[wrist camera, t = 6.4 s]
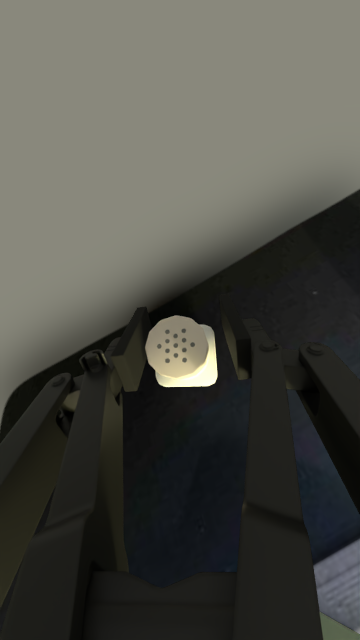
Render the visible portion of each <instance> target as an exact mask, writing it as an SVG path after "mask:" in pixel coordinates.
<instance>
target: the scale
mask: <svg viewBox="0 0 360 640" xmlns="http://www.w3.org/2000/svg"><path fill="white" fill-rule="evenodd" d="M320 619H321V626H322V633H323V640H360V634H358V633H356V632H354V631H353V630H351V629H349V628H347V627H346V626H344V625H342V624H340V623H339V622H337V621H335V620H333V619H331V618H330V617H328V616H326V615H324V614H323V613H321V612H320Z"/></svg>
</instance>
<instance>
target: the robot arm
mask: <svg viewBox="0 0 360 640" xmlns="http://www.w3.org/2000/svg"><path fill="white" fill-rule="evenodd" d="M219 302H220V311H221V321H222V327H223V330H224V333H225V337H226V340H227V343H228V346H229V350H230V353H231V356H232V360H233V363H234V366H235V369H236V373H237V376H238V379H239V380H241V379H250V378H252V380H251V396H250V411H249V427H248V442H247V458H246V473H245V489H244V501H243V506H242V513H241V524H240V538H239V552H238V567H237V572H200V573H197V574H195V575H193V576H190V577H188V578H186V579H183V580H181V581H179V582H176V583H174V584H172V585H169V586H167V587H164V588H159V587H156V586H154V585H152V584H150V583H148V582H146V581H144V580H142V579H140V578H138V577H136V576H134V575H132V574H130V573H129V569H128V560H127V555H126V551H125V546H124V537H123V417H122V394H121V392H120V390H121V387H122V385H123V388H124V390H125V392H128V391H137V389H138V386H139V382H140V379H141V376H142V372H143V369H144V366H145V362H146V359H147V354H146V349H145V346H146V342H147V339H148V335H149V332H150V331H151V330H152V325H151V322H150V319H149V315H148V312H147V308H146V307H140V308H137V310H136V311H135V313H134V315H133V317H132V319H131V320H130V322H129V324H128V326H127V327H126V329H125V331H124V333H123V335H122V336H121V337H120V338H116V339H114V340H113V341H112V342H111V343H110V345H109V347H108V348H107V350H106V352H105V353H103V351H101V350H93V351H90V352H88V353H86V354H84V355H83V356H82V357H81V358H80V360H79V362H80V363H81V365H82V367H83V369H84V371H85V373H84V375H81V376H78V377H75V378H72V376H71V374H69V373H63V374H59V375H57V376H55V377H54V378H52V379H51V380H50V381H49V382H48V383H47V384H46V385H45V387H44V388H43V389H42V390H41V392H40V393H39V394H38V396H37V397H36V398H35V400H34V401H33V402H32V403H31V405H30V406H29V407H28V409H27V410H26V411H25V412H24V414H23V415H22V416H21V418H20V419H19V420H18V422H17V423H16V424H15V425H14V427H13V428H12V429H11V431H10V432H9V433H8V434H7V436H6V437H5V438H4V440H3V441H2V442H1V444H0V608H1V606H2V604H3V601H4V599H5V597H6V595H7V592H8V590H9V588H10V586H11V584H12V581H13V579H14V577H15V575H16V572H17V570H18V568H19V566H20V563H21V561H22V563H21V566H20V570H19V573H18V576H17V580H16V583H15V587H14V590H13V593H12V597H11V600H10V603H9V607H8V610H7V613H6V617H5V620H4V623H3V627H2V630H1V633H0V640H323V633H322V626H321V619H320V612H319V604H318V597H317V590H316V582H315V575H314V568H313V561H312V553H311V547H310V541H309V536H308V532H307V529H306V527H305V525H304V521H303V515H302V507H301V499H300V491H299V483H298V475H297V467H296V459H295V451H294V443H293V435H292V427H291V420H290V412H289V404H288V396H287V389H293V390H296V392H297V394H298V396H299V397H300V399H301V401H302V403H303V405H304V407H305V409H306V411H307V413H308V415H309V417H310V419H311V421H312V423H313V425H314V427H315V429H316V430H317V432H318V434H319V436H320V438H321V440H322V442H323V444H324V446H325V448H326V450H327V452H328V454H329V456H330V458H331V460H332V462H333V464H334V465H335V467H336V469H337V471H338V473H339V475H340V477H341V479H342V481H343V483H344V485H345V487H346V489H347V491H348V493H349V495H350V497H351V498H352V500H353V502H354V504H355V506H356V508H357V510H358V512H359V514H360V380H359V379H358V378H357V376H356V375H355V374H354V373H353V372H352V371H351V370H350V369H349V368H348V367H347V366H346V365H345V364H344V362H343V361H342V360H341V359H340V358H339V357H338V356H337V355H336V354H335V353H334V352H333V351H332V350H331V349H330V348H329V347H328V346H326V345H323V344H320V343H315V342H308V343H304V344H302V345H301V346H300V348H299V350H290V349H284V348H281V346H280V344H278V343H277V342H275V341H272V340H271V339H270V338H269V336H268V335H267V333H266V332H265V330H264V329H263V327H262V326H261V324H260V323H259V321H257V320H255V319H254V318H251V319H244V320H242V319H241V317H240V315H239V313H238V312H237V310H236V308H235V306H234V304H233V302H232V300H231V298H230V296H229V294H223V295H219ZM59 409H60V411H61V412H62V414H61V416H60V417H58V416H57V412H58V411H59ZM55 485H56V487H55ZM54 487H55V491H54V495H53V499H52V502H51V506H50V510H49V514H48V518H47V521H46V524H45V526H44V528H43V529H42V530H41V531H39V532H38V533H37V534H35V535H34V536H33V534H34V532H35V530H36V527H37V525H38V523H39V521H40V518H41V516H42V514H43V512H44V509H45V507H46V505H47V503H48V500H49V498H50V496H51V494H52V492H53V489H54ZM32 536H33V537H32ZM22 559H23V560H22Z"/></svg>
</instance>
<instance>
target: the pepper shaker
mask: <svg viewBox="0 0 360 640" xmlns="http://www.w3.org/2000/svg"><path fill="white" fill-rule="evenodd" d="M145 349H146V354H147V358H148V362H149V364H150V365H151V366H152V367H153V368H154V369H155V370H156V378H157V381H158V383H159V384H160V385H162V386H164V387H184V386H209V385H211V384H214V383H215V381H216V378H217V364H216V350H215V338H214V332H213V330H212V328H211V327H209V326H207V325H198V324H197V323H196V322H195V321H194V320H193V319H191V318H187V317H182V316H177V315H175V316H172V317H169V318H166V319H163V320H160V321H159V322H158V323H157V325H156V326H155V327H154V328H153V329H152V330H151V331H150V332H149V335H148V339H147V342H146V346H145Z"/></svg>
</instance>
